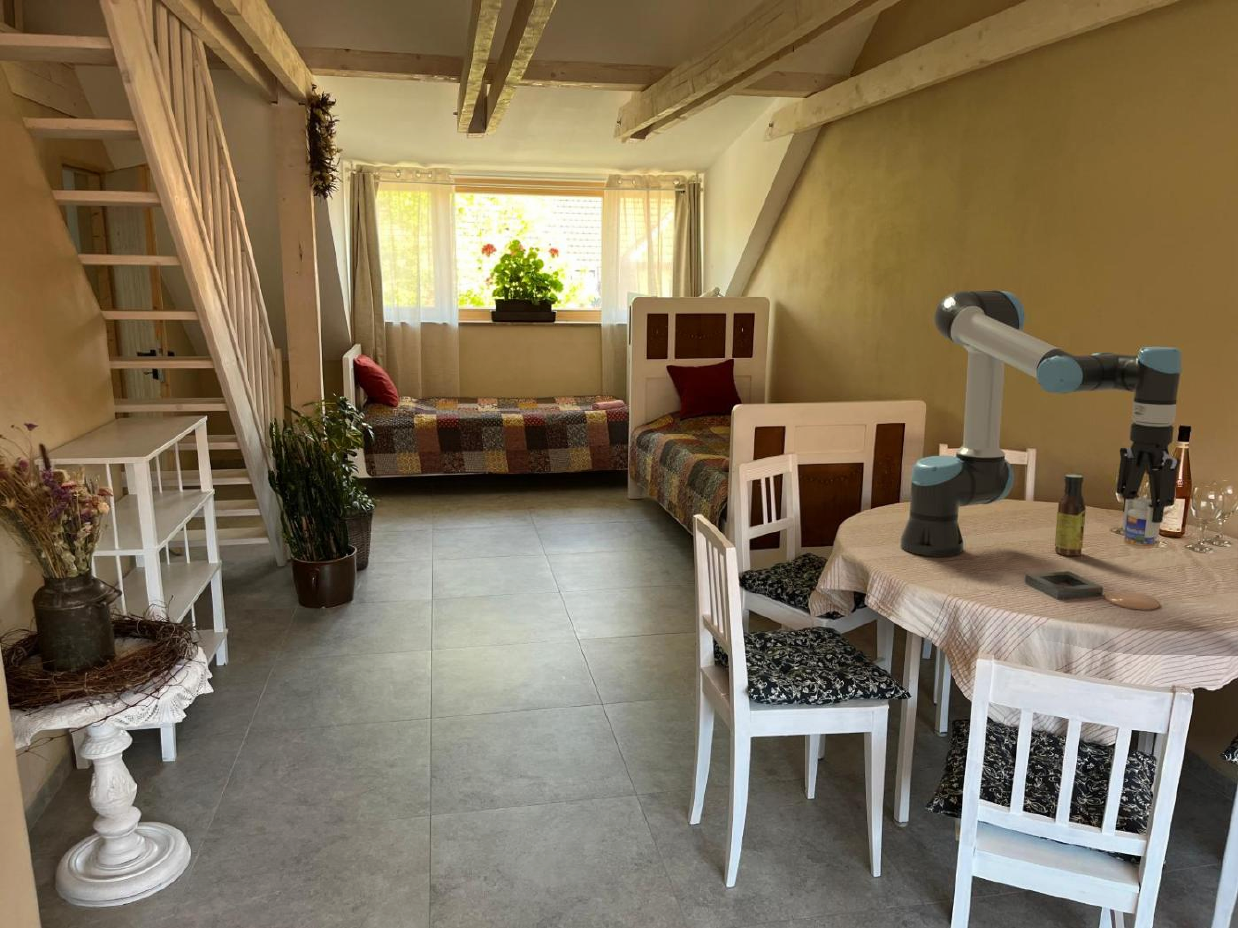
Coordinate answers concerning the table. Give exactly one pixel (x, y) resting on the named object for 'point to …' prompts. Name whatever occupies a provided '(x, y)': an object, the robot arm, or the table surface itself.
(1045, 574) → the socket plate
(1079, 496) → the sauce bottle
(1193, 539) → the table surface
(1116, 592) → the coaster
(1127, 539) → the pill bottle
